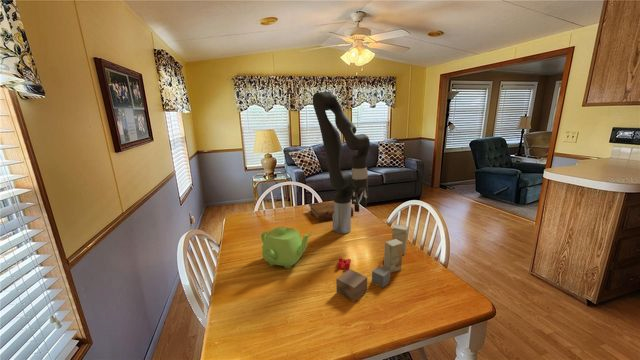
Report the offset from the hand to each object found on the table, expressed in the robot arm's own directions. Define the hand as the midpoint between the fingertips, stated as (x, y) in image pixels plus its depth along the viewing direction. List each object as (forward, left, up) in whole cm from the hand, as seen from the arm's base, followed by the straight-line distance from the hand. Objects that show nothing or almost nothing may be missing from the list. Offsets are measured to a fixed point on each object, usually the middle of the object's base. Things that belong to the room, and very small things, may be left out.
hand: (360, 208), depth 132 cm
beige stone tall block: (+19, +4, -18) cm, 26 cm away
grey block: (+25, -22, -18) cm, 38 cm away
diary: (-36, +18, -18) cm, 44 cm away
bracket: (+7, -22, -18) cm, 29 cm away
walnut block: (+20, -34, -18) cm, 43 cm away
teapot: (-13, -39, -18) cm, 45 cm away
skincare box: (+24, -11, -18) cm, 32 cm away
